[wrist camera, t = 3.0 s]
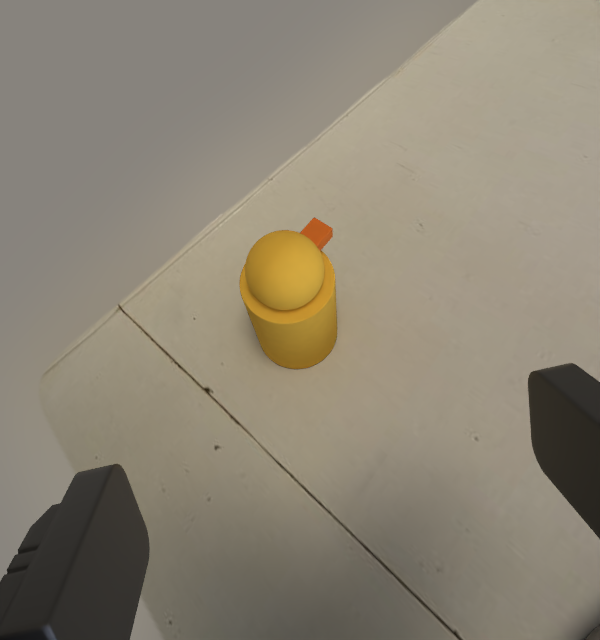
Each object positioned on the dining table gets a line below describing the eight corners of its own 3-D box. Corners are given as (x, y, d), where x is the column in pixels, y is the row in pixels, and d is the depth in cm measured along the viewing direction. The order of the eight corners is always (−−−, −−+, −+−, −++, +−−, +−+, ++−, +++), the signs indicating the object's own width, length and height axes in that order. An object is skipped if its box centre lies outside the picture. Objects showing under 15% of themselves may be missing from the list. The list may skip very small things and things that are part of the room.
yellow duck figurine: (304, 384, 33) (288, 317, 24) (243, 339, 34) (206, 259, 25) (359, 316, 34) (364, 228, 25) (298, 276, 36) (282, 179, 27)
